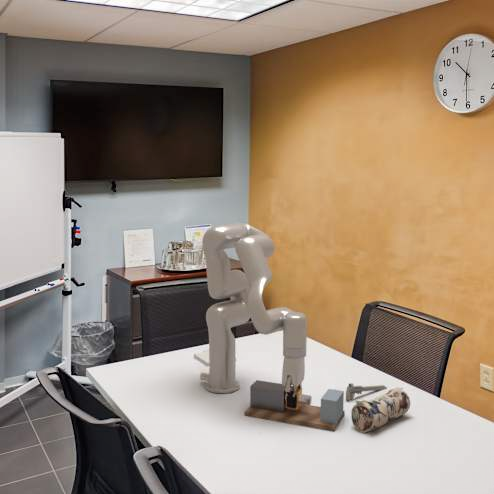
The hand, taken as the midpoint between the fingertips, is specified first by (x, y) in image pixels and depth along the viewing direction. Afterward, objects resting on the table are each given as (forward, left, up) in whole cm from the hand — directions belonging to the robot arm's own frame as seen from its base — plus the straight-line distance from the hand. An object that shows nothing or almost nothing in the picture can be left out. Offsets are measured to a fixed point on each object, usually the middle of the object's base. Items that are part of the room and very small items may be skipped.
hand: (293, 404), depth 204 cm
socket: (+13, 0, -2) cm, 13 cm away
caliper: (+18, +27, -4) cm, 33 cm away
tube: (-4, 0, -1) cm, 4 cm away
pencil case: (+27, +6, -4) cm, 28 cm away
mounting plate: (-48, +40, -4) cm, 62 cm away
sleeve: (-8, 0, -2) cm, 9 cm away
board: (0, 0, -4) cm, 4 cm away
